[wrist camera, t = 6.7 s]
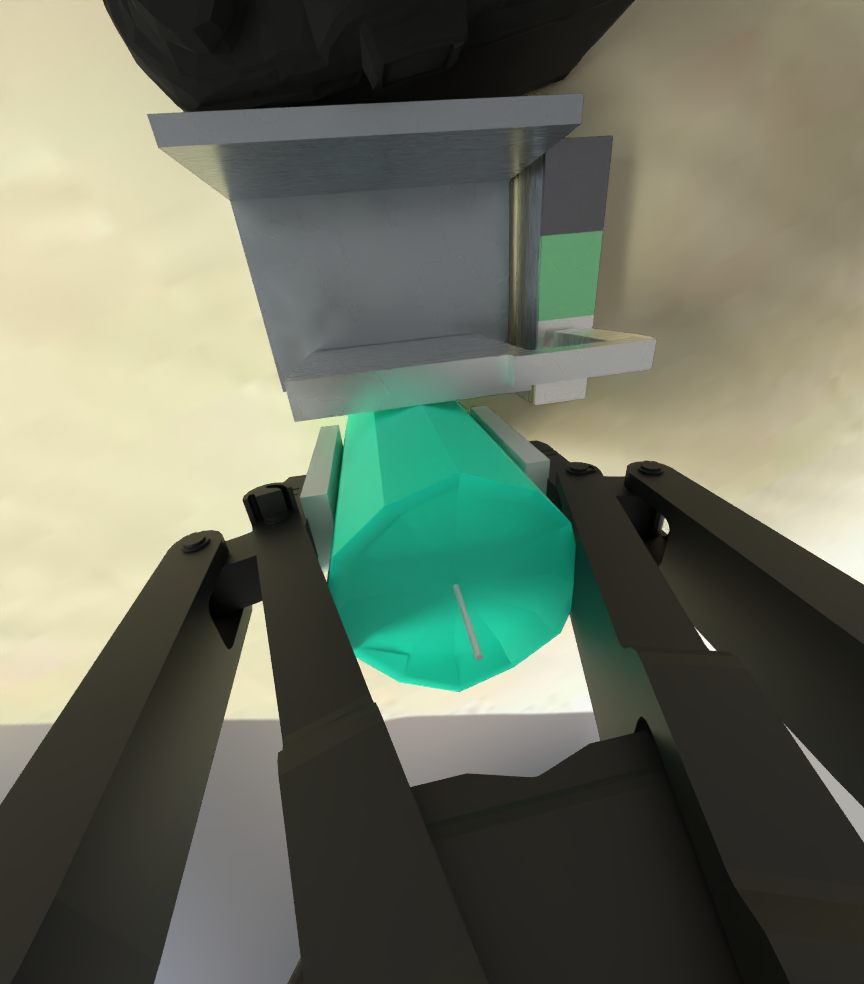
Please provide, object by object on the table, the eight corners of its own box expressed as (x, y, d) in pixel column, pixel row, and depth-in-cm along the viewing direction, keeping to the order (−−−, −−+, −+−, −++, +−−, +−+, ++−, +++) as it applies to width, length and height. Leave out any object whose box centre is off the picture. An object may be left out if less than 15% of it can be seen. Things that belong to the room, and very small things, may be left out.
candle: (468, 492, 19) (596, 724, 9) (350, 503, 18) (337, 774, 8) (472, 373, 16) (666, 503, 6) (334, 379, 16) (280, 545, 5)
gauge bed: (293, 422, 19) (266, 472, 13) (227, 182, 14) (147, 113, 9) (559, 387, 20) (630, 418, 15) (576, 159, 16) (686, 88, 10)
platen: (317, 379, 17) (292, 427, 11) (311, 352, 17) (280, 386, 10) (555, 349, 19) (657, 377, 12) (557, 323, 18) (665, 337, 12)
